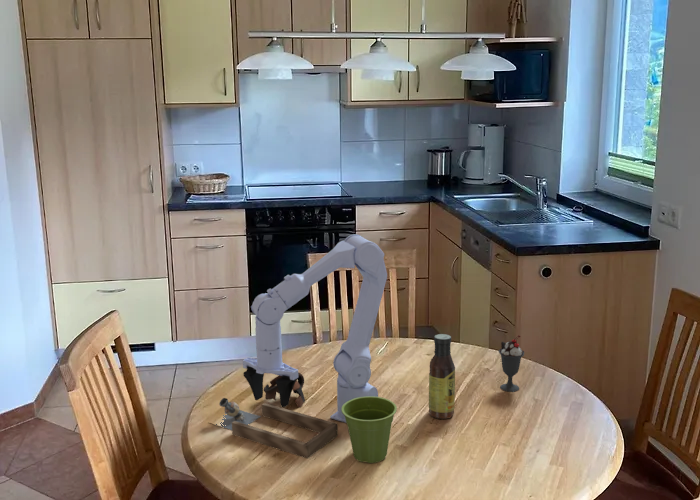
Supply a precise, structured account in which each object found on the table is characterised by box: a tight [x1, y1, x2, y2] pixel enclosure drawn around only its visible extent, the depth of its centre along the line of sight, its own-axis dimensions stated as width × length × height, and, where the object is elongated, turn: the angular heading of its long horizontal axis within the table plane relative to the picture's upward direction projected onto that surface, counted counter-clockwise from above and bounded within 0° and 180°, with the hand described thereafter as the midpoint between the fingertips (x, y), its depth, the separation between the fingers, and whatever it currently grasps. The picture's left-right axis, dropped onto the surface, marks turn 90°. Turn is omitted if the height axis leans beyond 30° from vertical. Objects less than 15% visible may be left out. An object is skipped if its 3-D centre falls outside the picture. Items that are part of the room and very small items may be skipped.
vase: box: [218, 397, 246, 421], centre depth 174 cm, size 5×5×6 cm
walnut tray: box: [231, 402, 339, 459], centre depth 167 cm, size 21×12×3 cm, turn 58°
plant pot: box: [341, 396, 398, 464], centre depth 157 cm, size 12×12×11 cm
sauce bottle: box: [428, 333, 456, 420], centre depth 174 cm, size 7×6×20 cm
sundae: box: [497, 334, 525, 393], centre depth 189 cm, size 7×7×15 cm
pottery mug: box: [263, 371, 306, 408], centre depth 185 cm, size 12×10×8 cm
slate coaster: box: [215, 409, 262, 431], centre depth 175 cm, size 9×9×1 cm
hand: (271, 402), depth 167 cm, fingers open, 7 cm apart
